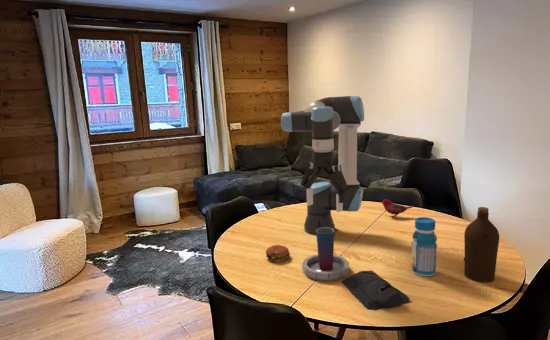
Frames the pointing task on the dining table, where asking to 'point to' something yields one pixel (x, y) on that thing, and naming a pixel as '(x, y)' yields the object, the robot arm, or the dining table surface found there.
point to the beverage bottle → (424, 247)
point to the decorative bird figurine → (394, 207)
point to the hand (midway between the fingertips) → (324, 207)
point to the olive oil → (481, 248)
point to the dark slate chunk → (374, 291)
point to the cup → (325, 247)
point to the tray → (316, 273)
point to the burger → (277, 253)
